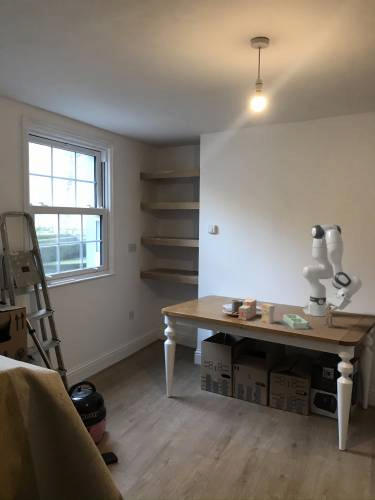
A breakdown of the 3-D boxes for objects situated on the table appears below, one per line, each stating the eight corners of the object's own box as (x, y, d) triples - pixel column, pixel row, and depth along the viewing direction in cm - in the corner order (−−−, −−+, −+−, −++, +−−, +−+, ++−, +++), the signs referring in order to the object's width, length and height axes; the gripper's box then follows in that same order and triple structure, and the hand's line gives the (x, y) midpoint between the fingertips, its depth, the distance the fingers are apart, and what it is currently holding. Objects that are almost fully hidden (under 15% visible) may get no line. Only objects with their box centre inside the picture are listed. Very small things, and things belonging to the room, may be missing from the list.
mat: (276, 320, 281) (276, 320, 281) (303, 320, 282) (303, 319, 282) (286, 329, 259) (286, 328, 259) (315, 328, 261) (315, 328, 261)
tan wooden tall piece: (323, 325, 270) (323, 305, 269) (330, 325, 270) (330, 305, 269) (327, 328, 263) (328, 308, 262) (334, 327, 263) (335, 307, 262)
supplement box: (261, 321, 278) (261, 303, 277) (266, 320, 281) (266, 303, 280) (269, 324, 271) (269, 306, 270) (274, 323, 274) (274, 305, 273)
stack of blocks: (246, 321, 280) (246, 304, 279) (238, 319, 283) (238, 303, 282) (256, 314, 298) (256, 299, 297) (248, 313, 302) (249, 298, 301)
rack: (282, 319, 282) (282, 314, 282) (296, 319, 283) (296, 314, 283) (293, 328, 259) (293, 323, 258) (308, 328, 259) (308, 322, 259)
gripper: (333, 290, 276) (319, 303, 276) (346, 296, 255) (331, 310, 255) (338, 296, 276) (325, 309, 276) (352, 302, 256) (338, 317, 256)
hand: (328, 310), depth 266 cm, fingers open, 6 cm apart
